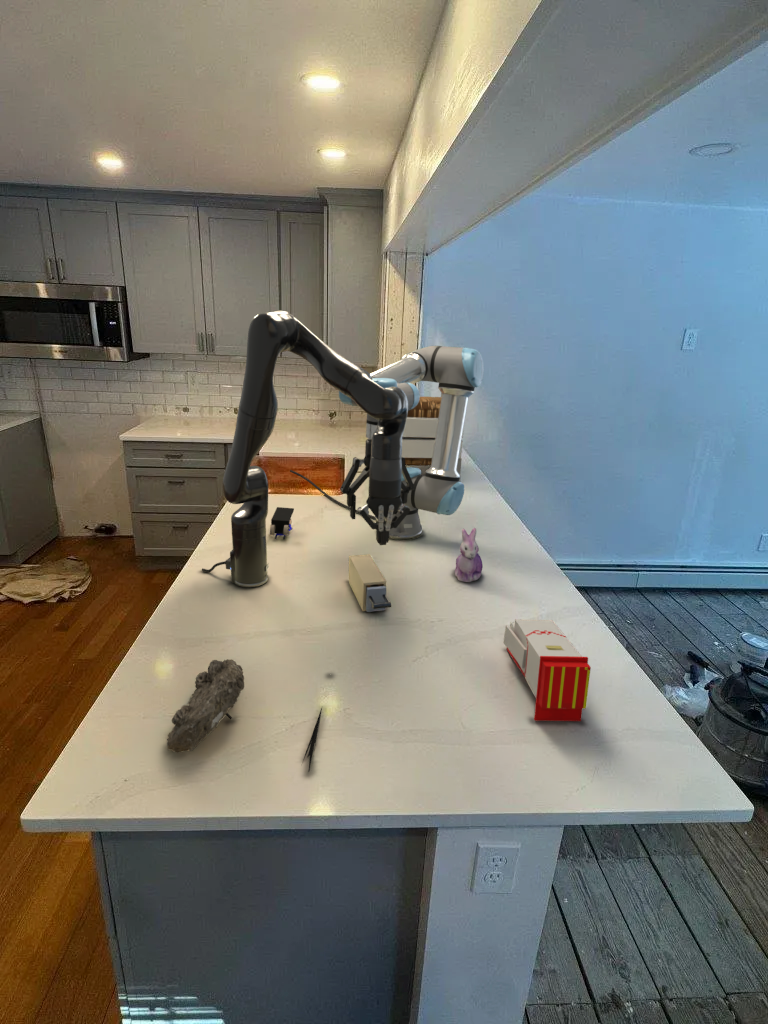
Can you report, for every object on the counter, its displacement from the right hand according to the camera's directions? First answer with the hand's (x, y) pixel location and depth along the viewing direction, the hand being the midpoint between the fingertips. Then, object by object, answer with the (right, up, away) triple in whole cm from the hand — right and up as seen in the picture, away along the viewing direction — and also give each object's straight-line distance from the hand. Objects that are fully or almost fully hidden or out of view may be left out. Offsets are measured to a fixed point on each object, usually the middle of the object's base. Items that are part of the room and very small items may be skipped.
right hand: (376, 516), depth 155 cm
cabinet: (-3, -22, +2) cm, 22 cm away
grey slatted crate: (+19, +20, +120) cm, 124 cm away
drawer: (-1, -23, -3) cm, 23 cm away
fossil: (-31, -38, -47) cm, 67 cm away
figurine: (+27, -18, +16) cm, 36 cm away
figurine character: (-33, -6, +40) cm, 53 cm away
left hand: (+2, -7, -17) cm, 19 cm away
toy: (+35, -35, -31) cm, 59 cm away
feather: (-10, -39, -46) cm, 61 cm away
